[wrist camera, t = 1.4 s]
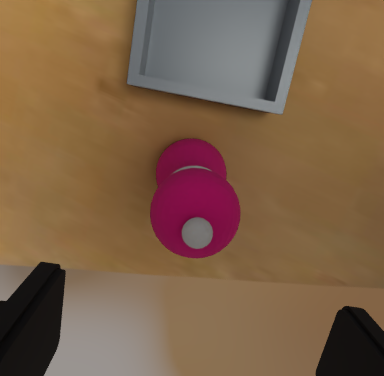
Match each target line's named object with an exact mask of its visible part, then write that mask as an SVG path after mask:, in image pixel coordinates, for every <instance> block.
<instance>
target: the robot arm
mask: <svg viewBox="0 0 384 376" xmlns="http://www.w3.org/2000/svg"><path fill="white" fill-rule="evenodd" d="M64 285H65V270H62V269H60V265H59V264H53V263H46V262H40V263H39V264H38V265H37V267H36V268H35V269H34V270H33V271H32V272H31V274H30V275H29V276H28V277H27V278H26V279H25V280H24V282H23V283H22V284H21V285H20V286H19V287H18V289H17V290H16V291H15V292H14V293H13V294H12V295H11V297H10V298H9V299H8V300H7V301H0V376H44V374H45V372H46V370H47V368H48V366H49V364H50V362H51V360H52V358H53V356H54V354H55V352H56V350H57V347H58V344H59V339H60V329H61V318H62V307H63V296H64ZM316 376H384V331H383V330H382V329H381V328H380V327H379V325H378V324H377V323H376V322H375V321H374V320H373V319H372V318H371V317H370V316H369V314H368V313H367V312H366V311H365V310H364V309H362V308H357V307H349V306H345V307H343V308H342V310H339V311H338V312H337V315H336V317H335V320H334V323H333V325H332V328H331V331H330V334H329V337H328V339H327V342H326V345H325V347H324V350H323V353H322V355H321V358H320V361H319V364H318V366H317V369H316Z"/></svg>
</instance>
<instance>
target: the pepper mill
mask: <svg viewBox="0 0 384 376" xmlns="http://www.w3.org/2000/svg"><path fill="white" fill-rule="evenodd" d="M156 180H157V185H158V188H157V190H156V192H155V194H154V196H153V199H152V202H151V210H150V218H151V224H152V227H153V230H154V232H155V234H156V236H157V238H158V239H159V240H160V242H161V243H162V244H163V245H164V246H165V247H166V248H167V249H169V250H170V251H172V252H173V253H175V254H178V255H180V256H184V257H188V258H204V257H208V256H211V255H214V254H216V253H218V252H219V251H221V250H222V249H223V248H225V247H226V246H227V245H228V244H229V243H230V241H231V240H232V239H233V237H234V236H235V234H236V231H237V229H238V226H239V222H240V205H239V200H238V197H237V195H236V193H235V191H234V189H233V188H232V186H231V185H230V184H229V183H228V182H227V181H226V167H225V163H224V160H223V158H222V156H221V154H220V153H219V151H218V150H217V149H216V148H215V147H213V146H212V145H211V144H209V143H207V142H206V141H203V140H199V139H183V140H180V141H177V142H175V143H173V144H172V145H170V146H169V147H168V148H167V149H165V151H164V152H163V153H162V155H161V156H160V158H159V160H158V163H157V168H156Z"/></svg>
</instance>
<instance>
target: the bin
mask: <svg viewBox="0 0 384 376" xmlns="http://www.w3.org/2000/svg"><path fill="white" fill-rule="evenodd" d="M311 2H312V0H137V7H136V15H135V23H134V31H133V39H132V46H131V54H130V62H129V70H128V78H127V84H129V85H132V86H135V87H140V88H145V89H151V90H156V91H161V92H166V93H171V94H176V95H181V96H186V97H191V98H196V99H201V100H206V101H211V102H216V103H221V104H227V105H232V106H237V107H242V108H247V109H252V110H257V111H262V112H267V113H274V114H283V110H284V106H285V102H286V98H287V94H288V91H289V87H290V83H291V79H292V75H293V71H294V67H295V64H296V60H297V56H298V52H299V48H300V44H301V40H302V37H303V33H304V29H305V25H306V21H307V17H308V13H309V10H310V6H311Z"/></svg>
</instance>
